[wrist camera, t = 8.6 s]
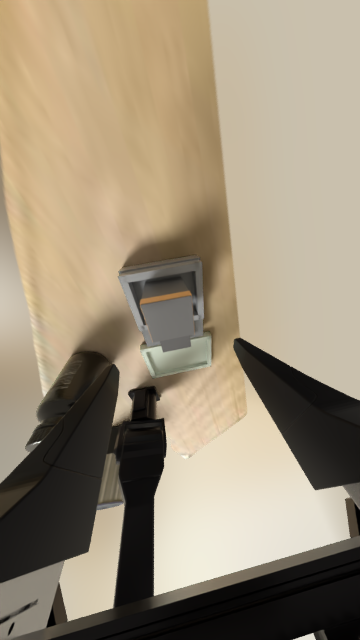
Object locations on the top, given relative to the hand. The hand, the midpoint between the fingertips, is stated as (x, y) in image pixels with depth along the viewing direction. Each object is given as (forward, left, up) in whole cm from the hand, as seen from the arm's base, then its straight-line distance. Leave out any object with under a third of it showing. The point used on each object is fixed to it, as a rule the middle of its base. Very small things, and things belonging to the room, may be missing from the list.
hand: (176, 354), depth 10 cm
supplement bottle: (-11, +17, -12) cm, 23 cm away
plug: (0, 0, -10) cm, 10 cm away
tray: (-14, 0, -12) cm, 18 cm away
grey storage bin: (-2, 0, -12) cm, 12 cm away
